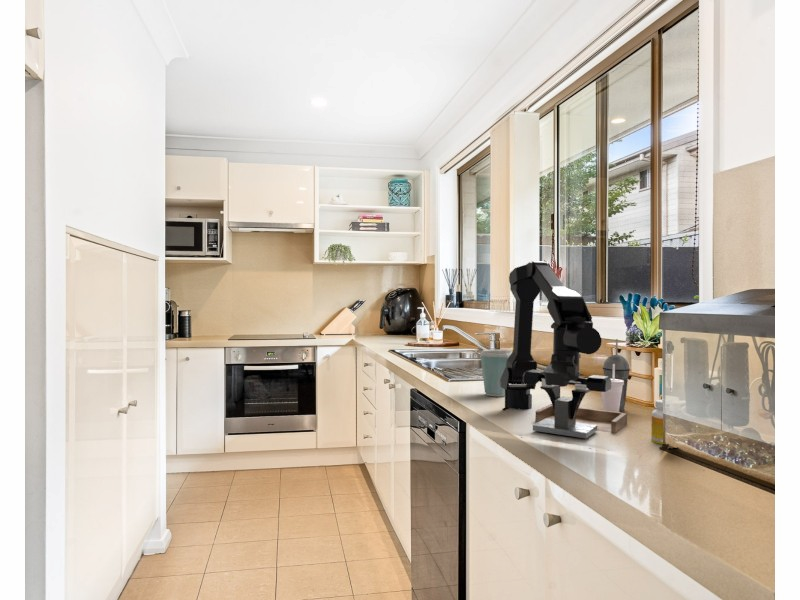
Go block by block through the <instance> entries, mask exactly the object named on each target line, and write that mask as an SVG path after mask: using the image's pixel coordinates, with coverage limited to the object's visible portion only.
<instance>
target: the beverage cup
mask: <svg viewBox="0 0 800 600" xmlns="http://www.w3.org/2000/svg"><path fill="white" fill-rule="evenodd" d="M618 341H619V340H618V339H615V354H612V355H610V356H608V357H607V358H606V359H605V360H604V362H603V366H602V369H603V376H608V377H609V378H610V379H612V377H613V364H615V379H620V380H623V381H624V385H623V387H622V394H621V401H620V408H619V412H623V411H625V406H626V399H627V390H628V380H629V376H630V371H631V369H630V364H629V361H628V360H627V359H626V358H625V357H624V356H622V355H620V354H618V353H619V352H618V350H619V349H618V347H619V345H618V344H619V342H618Z"/></svg>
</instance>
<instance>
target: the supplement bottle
mask: <svg viewBox="0 0 800 600" xmlns="http://www.w3.org/2000/svg"><path fill="white" fill-rule="evenodd" d="M662 400H663V399H655V401H654V402H655V404H654V405H655V409H654V410H652V411H651V432H650V433H651V435H650V437H651V438H650V440H651V442H653V443H654V444H658V445H663V402H662Z"/></svg>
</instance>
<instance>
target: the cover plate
mask: <svg viewBox="0 0 800 600" xmlns="http://www.w3.org/2000/svg"><path fill="white" fill-rule="evenodd" d="M572 397H573V396H565V395H564V396H560V398H558V399H556V400H555V418H554V419H549V418H545V419H543V420H541V421H540V422H536V423H534V424H532V431H534V432H541V433H548V434H554V435H555V434H556V435H561V436H567V437H575V438H580V439H581V438H582V439H586V440H587V439H588V438H589V437H591V436H592V435H593V434H595V433H596V432H597V431H598V430H597V425H593V424H585V423H578V422H576V415H575V418H574V419H571V407H572Z"/></svg>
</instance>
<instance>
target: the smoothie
mask: <svg viewBox="0 0 800 600" xmlns="http://www.w3.org/2000/svg"><path fill="white" fill-rule="evenodd" d="M623 385H624V381H623V380H620V379H615V364H613V377H612V379H611V389H610V390H608V391H606V392H600V395H601V403H602V404H601V405H602V410H604V411H612V412H620V411H619V408H620V401H621V394H622V387H623Z"/></svg>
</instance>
